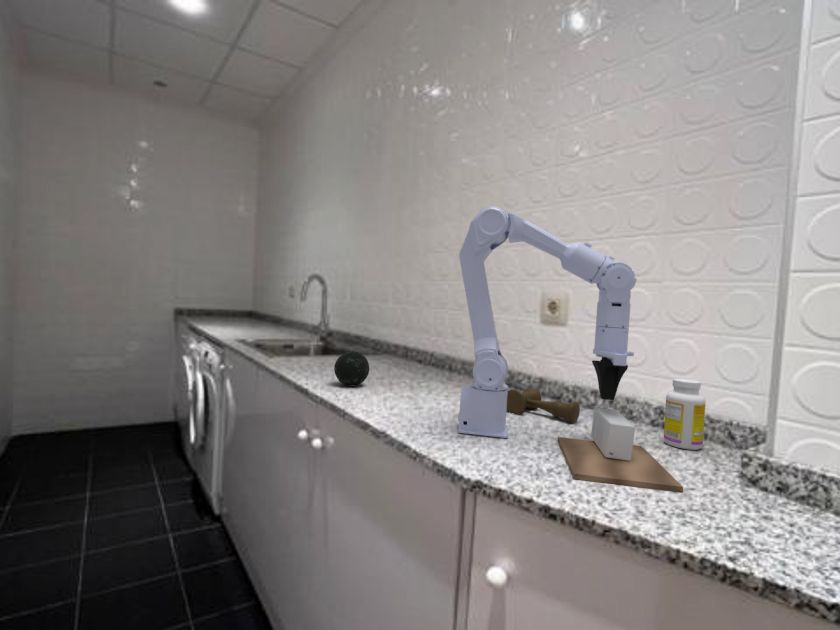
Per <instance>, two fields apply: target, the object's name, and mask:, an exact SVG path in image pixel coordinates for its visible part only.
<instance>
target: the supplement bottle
mask: <svg viewBox="0 0 840 630" xmlns="http://www.w3.org/2000/svg"><path fill="white" fill-rule="evenodd" d="M701 384H702V382H700V381H698V380H695V379H686V378H673V379H672V386H673V390H670V391H669V392H667V394H666V396H665V406H664V407H665V410H664V425H663V441H664V443H665V444H666V445H669V446H671V447H674V448H677V449H678V448H679V449H682V450H688V451H689V450H691V451H697V450H700V449H702V448H703V443H704V432H705V431H704V430H705V415H706V399H705V397H704V396H703V395H702V394H700V390H701Z"/></svg>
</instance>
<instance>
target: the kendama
mask: <svg viewBox="0 0 840 630" xmlns="http://www.w3.org/2000/svg"><path fill="white" fill-rule="evenodd" d="M525 407H526V409H528V408H530V409H529V410H533V409H535V410H537V409H540V410H542V411H545V412H547V413H549V414H551V415H552V417H553V418H554V419H558V418H562V419H565V420H566V421H568V424H571V423H573V424H575V422H576V423H577V421H578V419H579V417H580V413H581V408H580V405H579V402H577V401H572V402H570V403H569V402H567V403H566V402H564V401H562V400H561V399H556V400H554V401H553V400H552V401H545V400H542V395H541V392H540V391H539V390H538V389H536V388H534V387H526V388H525V389H523V391H522V392H521V391H519V390H517V389H515V388H514V389H513V388H512V389H508V395H507V411H508V412H507V411H506V412H507V413H509V412H510V413H509V414H512V413H514V415H517V414H518V415H520V414H523V412H524V411H525Z"/></svg>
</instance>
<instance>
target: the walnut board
mask: <svg viewBox="0 0 840 630" xmlns="http://www.w3.org/2000/svg"><path fill="white" fill-rule="evenodd" d="M557 443H558V445H559V448H560V451H561V452H562V454H563V457H564V459H565V462H566V464H567V467H568V469H569V471H570V473H571V476H572V478H573V480H581V481H589V482H595V483H602V484H603V483H604V484H605V483H606V484H611V485H612V484H613V485H619V486H628V487H635V488H636V487H637V488H643V489H644V488H645V489H651V490H653V489H654V490H659V491H660V490H661V491H668V492H676V493H683V492H684V486H683V485H682V484H681V483H680V482H679V481H678V480H677V479H676V478H675V477H674V476H673V475H672V474H671V473H670V472H668V471H667V469H665V468H664V466H663V465H661V464H660V463H659V462H658V461H657V459H656V458H654V457H653V456H652V454H650V453H649V451H647V450H646V449H645V447H643V446H642V445H637V444H633V449H632V457H631V461H626V460H620V459H613V458H606V457H605V456H604V455H603V453H602V452H601V450H600V449H599V448H598V446H597V445H596V443H595V442H594V440H589V439H582V438H581V439H580V438H570V437H562V436H557Z"/></svg>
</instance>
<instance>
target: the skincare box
mask: <svg viewBox="0 0 840 630" xmlns="http://www.w3.org/2000/svg"><path fill="white" fill-rule="evenodd" d="M635 429H636V427H635V425H633V424H632V423H631V422H630V421H629V420H628V419H627V418H626V417H625V416H624V415H622V414H621V413H620V412H619V411H618V410H616V409H609V408H603V407H596V406H595V407H594V410H593V418H592V425H591V433H590V437H591V439H592V441H594V442H595V443H596V445H597V446H598V448H599V449H600V450H601V452H602V453H603V455H604V456H605V457H606V458H613V459H620V460H626V461H631V457H632V449H633V445H634V439H635V433H636V430H635Z"/></svg>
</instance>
